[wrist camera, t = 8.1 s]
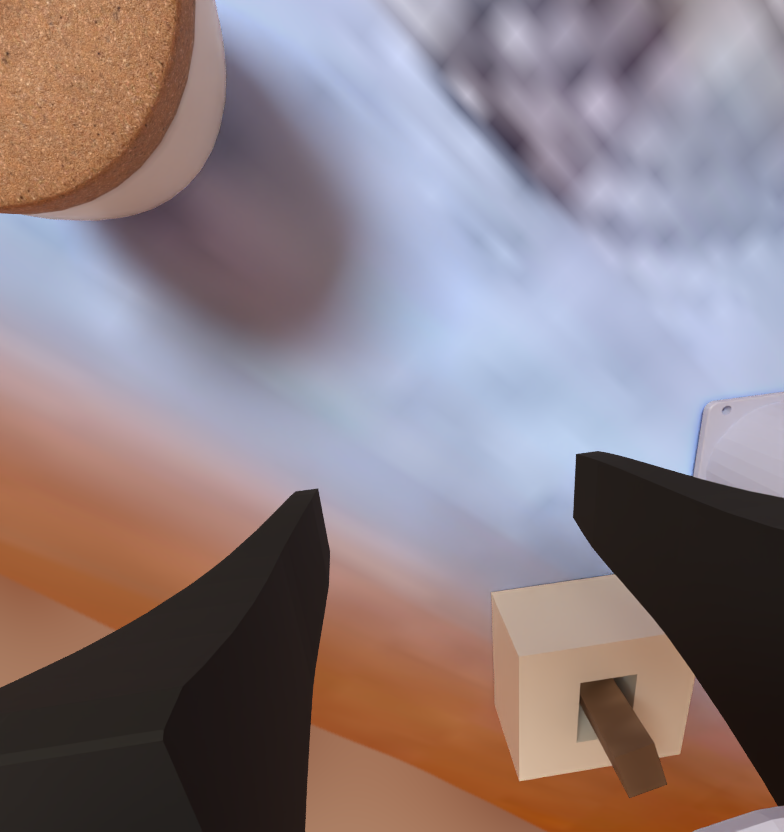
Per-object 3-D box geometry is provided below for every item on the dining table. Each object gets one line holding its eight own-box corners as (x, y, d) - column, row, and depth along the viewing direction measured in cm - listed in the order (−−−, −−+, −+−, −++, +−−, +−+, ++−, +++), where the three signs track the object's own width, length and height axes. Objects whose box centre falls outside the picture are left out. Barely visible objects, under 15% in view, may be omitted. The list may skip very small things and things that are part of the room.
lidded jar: (81, 279, 17) (-213, 273, 8) (-103, -21, 14) (-931, -571, 5) (306, 186, 17) (246, 75, 8) (173, -149, 13) (-195, -1008, 4)
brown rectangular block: (577, 622, 25) (654, 742, 19) (589, 658, 26) (667, 784, 20) (547, 634, 25) (614, 757, 19) (561, 669, 26) (629, 798, 20)
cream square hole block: (645, 569, 25) (704, 628, 21) (631, 683, 28) (679, 754, 24) (491, 592, 25) (518, 656, 20) (494, 704, 28) (519, 781, 23)
